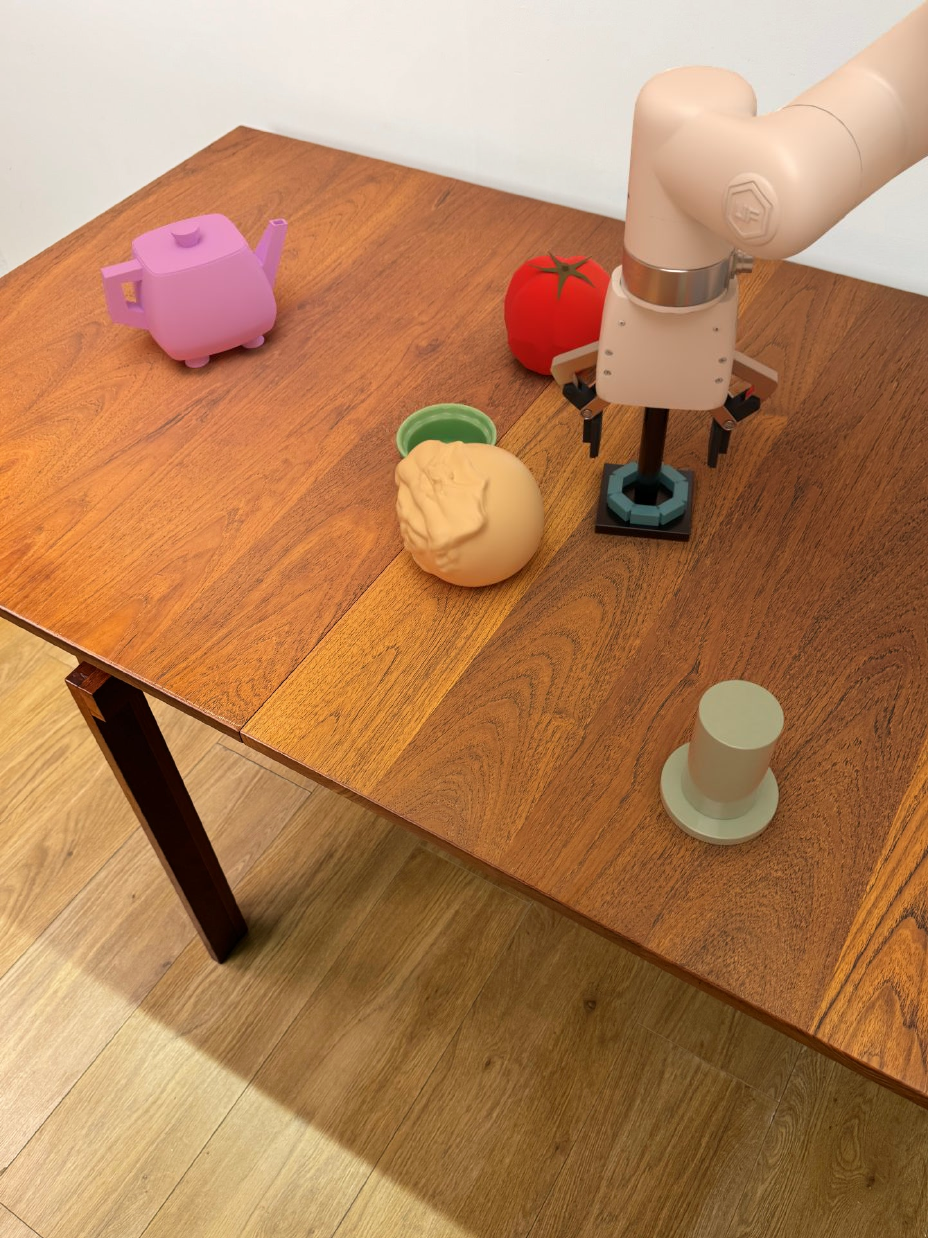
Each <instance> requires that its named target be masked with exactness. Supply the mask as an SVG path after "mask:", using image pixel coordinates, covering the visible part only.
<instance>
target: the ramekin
mask: <svg viewBox="0 0 928 1238" xmlns="http://www.w3.org/2000/svg"><path fill="white" fill-rule="evenodd" d="M395 436H396V437H395V443H396V444H395V445H396V448H397V451H398V453H399V455H400V457H401V460H403V459H404V458H406V457H407V456H408V454H409V453H410V452H411V451H412V450H413V449H414V448H415V447H416V446H417V445H419V444H420V443H422V442H424V441H427V440H439V441H441V442H442V443H446V444H448V443H453V442H456V441H461V442H463V443H464V444H467V443H482V444H489V445H493V446H496V445H497V441H498V440H497V439H498V431H497V427H496V425H495V423H494V421H493V420H492V419H491V418H490V417H489V416H488V415H487V414H486V413H485V412H483V411H482V410H480V409H478V408H475V407H472V406H470V405H466V404H462V403H455V402H454V403H451V402H449V403H436V404H433V405H429V406H425V407H423V408H421V409H418V410H416V411H415V412H413V413H412V414H410V415H408V416H407V418H405V419H404V421H402V423H401V424H400V426H399V427H398V429H397V432H396V435H395Z"/></svg>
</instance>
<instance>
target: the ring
mask: <svg viewBox="0 0 928 1238" xmlns="http://www.w3.org/2000/svg"><path fill="white" fill-rule="evenodd" d="M624 465H625V466H623V467H621V468H619V469H617V470H615V471H614V472H612V475H610V478H609V485H608V492H607V503H608V506H609V507H610V508H611V509H612V510H613V511H614V512H615V513H617V514H618V515H619V516H620V517H621V518H622V519H624V520H625V521H628V520H629V519H630V523H632V524H642V525H652V526H658V524H659V523H661V524H662V525H664V524H666V523H667V522H669V521H671V520H673V519H674V518H676V517H678V516H680V515H681V514H683V513H684V510H686V505H687V497H688V482H686V480H687V479H686V478H685V477H684V476H683V475H681V474H680V473H679V472H677V471H676V470H675V469H676V468H674V467H673V466H671V465H670V464H666V465H665V462H662V468H661V475H660V482H661V483H662V484H663V485H665V486H666V487H667V488H668V489H669V490H671V491H672V492H673V497H672V498H671V499H670V500H668V501H666V502H664V503H662V504H661V505H659V506H647V505H637V504H634V503H633V502H632V501H631V500H629V499H628V498H627V497H626V496H625V495H624V494H622V488H623V487H624V486H626V485H628V484H630V483H632V482H634V481H635V480H636V476H637V467H638V460H637V461H636V462H635V461H630V462H628V463H627V464H624Z"/></svg>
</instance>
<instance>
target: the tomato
mask: <svg viewBox="0 0 928 1238" xmlns="http://www.w3.org/2000/svg"><path fill="white" fill-rule="evenodd" d="M547 252H548V254H547V255H538V256H535V257H533V258H531V259H528V260H527V261H525V262H524V263H523V264H522V265H521V266H520V267H519V268H517V270H516V271H514V273H513V274H512V277H511V279H510V282H509V283H508V287H507V291H506V294H505V297H504V300H503V302H504V304H503V309H504V310H503V311H504V312H503V313H504V314H503V319H504V324H505V327H506V332H507V345H508V347H509V349H510V352H511V353H512V354H513V356H514V357H515V358H516V359H517V360H518V362H520V363H521V364H522V366H524V367H525V368H526V369H528V370H531V371H532V372H535V373H538V374H540V375H543V376H553V375H552V373H551V371H550V370H551V365H552V360H553V358H554V357H556V356H558V355H561V354H564V353H566V352H569V351H572V350H575V349H577V348H580V347H583V346H585V345H588V344H591V343H594V342H596V341H599V338H600V331H601V323H602V315H603V309H604V303H605V298H606V294H607V290H608V286H609V282H610V279H611V276H610V275H609V274H608V273H607V272H606V271H605V269H604V268H603V267H602V266H601V265H600V264H599V263H598V262H596V261H594V260H593V259H592V257H593V255H591V256H588V257H587V256H583V255H579V254H577V255H573V256H570V257H567V258H566V257H563V256H560V255H557V254H556V255H555V254H552V252H550V251H549V250H547ZM586 369H587V368H585V369H583V370H580V371H577V372H575V373H574V374H575V375H576V374H578V373H581V372H583V371H585V370H586Z"/></svg>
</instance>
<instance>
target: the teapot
mask: <svg viewBox="0 0 928 1238" xmlns="http://www.w3.org/2000/svg"><path fill="white" fill-rule="evenodd" d="M288 228H289V223H288V222H287V220H286V219H285V218H276V219H270V220H268V224H267V227H266V228H265V230H264V232H263V234H262V236H261V238H260V239H259V242H258V243H257V245H256V247H255V249H254V250H252V248H251V247H250V244H249V243H248V241H247V240H246V239H245V237H244V236H243V235H242V234H241V232H240V230H239V229H238V228H237V226H236V225H235V224H234V223H233V222H232V221H231V220H230V219H229V217H228V216H226V215H223V213H208V214H203V215H198V216H194V217H189V218H186V219H180V220H178V221H175V222H171V223H169V224H166V225H162V226H160V227H157V228H155V229H152V230H149V231H146V232H144V233H142V234H141V235H139V236H137V237H136V238H134V239H133V241H132V242H131V251H130V254H131V255H130V257H131V258H130V260H127V261H124V262H120V263H116V264H112V265H108V266H104V267H101V268H100V274H101V279H102V285H103V293H104V297H105V302H106V308H107V314H108V316H109V318H110V320H111V322H112V323H114V324H117V325H118V324H119V325H123V326H127V327H131V328H137V329H141V330H146V331H147V332H148V333H149V334H150V336H151V337H152V339H153V340H154V341H155V342H156V344H157V345H158V346H159V347H160V348H161V349H162V350H163V351H164V352H165V354H167V355H168V356H169V357H170V358H171V359H173V360H176V361H184V364H185V366H186V367H188V368H193V369H194V368H197V369H198V368H201V367H204V366H205V365H207V364H208V363H209V361H210V356H211V355H215V354H219V353H222V352H225V351H229V350H231V349H234V348H236V347H239V346H242V347H243V348H245V349H255V348H258V347H261V346H262V345H263V344H264V342H265V337H264V336H263V335H265V334H266V333H268V332H269V331H271V330H272V329H273V327H274V324H275V322H276V318H277V311H278V310H277V303H276V299H275V296H274V292H273V290H274V286H275V283H276V278H277V275H278V271H279V266H280V262H281V259H282V258H281V257H282V253H283V249H284V246H285V241H286V236H287V233H288V230H289V229H288ZM126 283H132V289H133V295H134V300H135V301H131V300H130V301H129V300H126V296H125V292H124V289H123V285H122V284H126Z"/></svg>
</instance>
